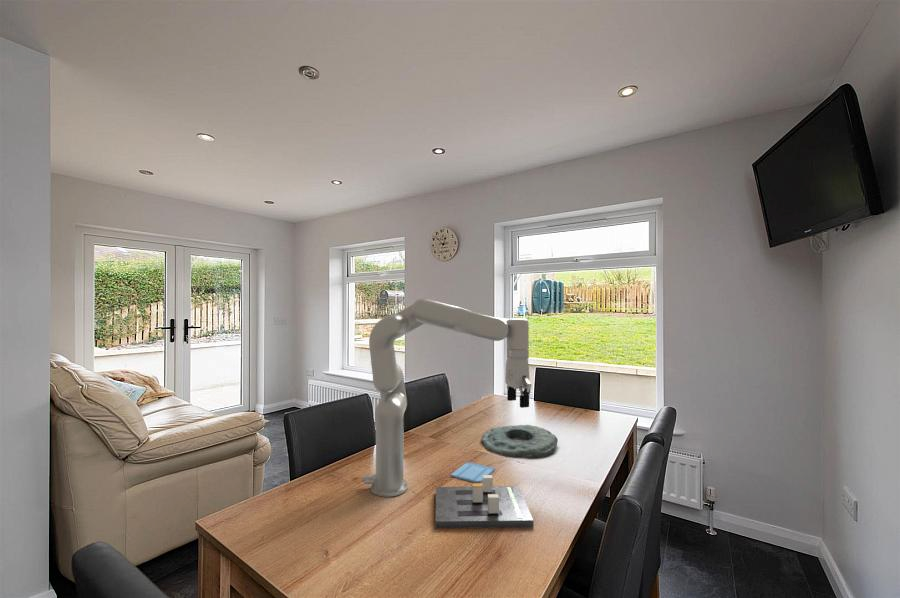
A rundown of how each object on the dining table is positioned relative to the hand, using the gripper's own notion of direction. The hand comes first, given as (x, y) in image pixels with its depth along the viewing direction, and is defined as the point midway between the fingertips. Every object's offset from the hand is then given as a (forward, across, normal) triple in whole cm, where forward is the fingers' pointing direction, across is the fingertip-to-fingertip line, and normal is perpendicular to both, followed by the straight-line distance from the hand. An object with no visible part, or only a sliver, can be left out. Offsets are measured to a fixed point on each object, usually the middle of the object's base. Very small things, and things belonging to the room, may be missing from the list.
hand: (517, 403), depth 135 cm
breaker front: (+27, +15, -16) cm, 35 cm away
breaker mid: (+27, +8, -18) cm, 33 cm away
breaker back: (+27, +3, -12) cm, 30 cm away
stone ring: (+30, -41, +20) cm, 55 cm away
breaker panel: (+29, +8, -17) cm, 35 cm away
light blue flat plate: (+30, -17, -10) cm, 36 cm away
